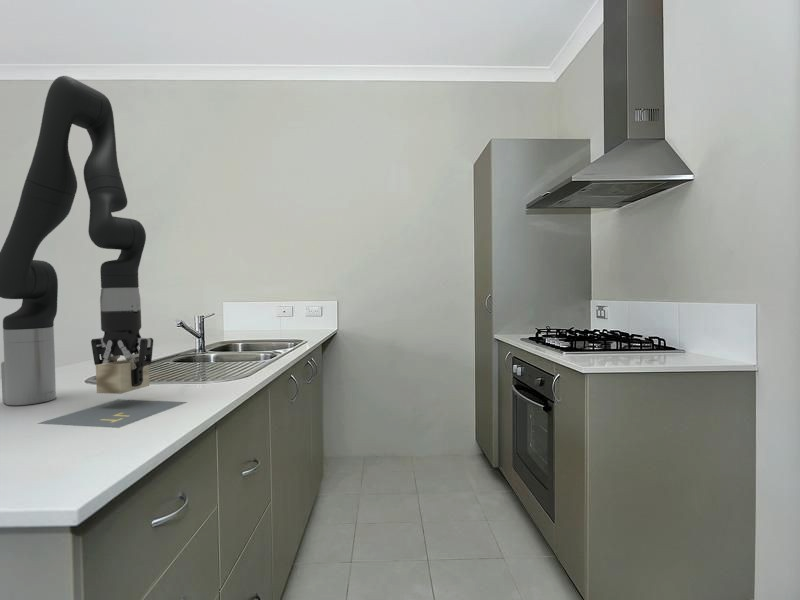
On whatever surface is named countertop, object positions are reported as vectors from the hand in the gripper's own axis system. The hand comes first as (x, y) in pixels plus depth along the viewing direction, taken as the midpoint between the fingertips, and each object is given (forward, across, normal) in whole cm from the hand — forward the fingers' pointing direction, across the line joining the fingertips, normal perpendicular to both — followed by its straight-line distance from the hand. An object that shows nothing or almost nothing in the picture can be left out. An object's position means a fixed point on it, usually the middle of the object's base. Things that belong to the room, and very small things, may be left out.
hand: (123, 385), depth 100 cm
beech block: (+1, 0, 0) cm, 1 cm away
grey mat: (+5, +4, -6) cm, 8 cm away
